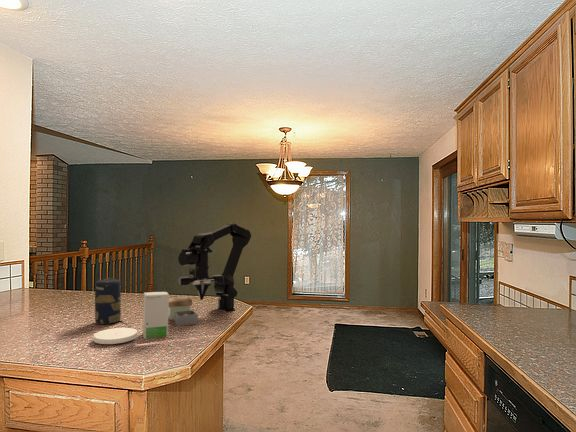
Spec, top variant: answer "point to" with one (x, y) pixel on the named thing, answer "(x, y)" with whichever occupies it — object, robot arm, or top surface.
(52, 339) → the top surface
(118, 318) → the canister
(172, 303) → the lid
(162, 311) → the skincare box
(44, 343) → the top surface
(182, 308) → the pale green hollow box
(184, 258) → the robot arm
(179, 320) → the grey open box
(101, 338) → the plastic lid
